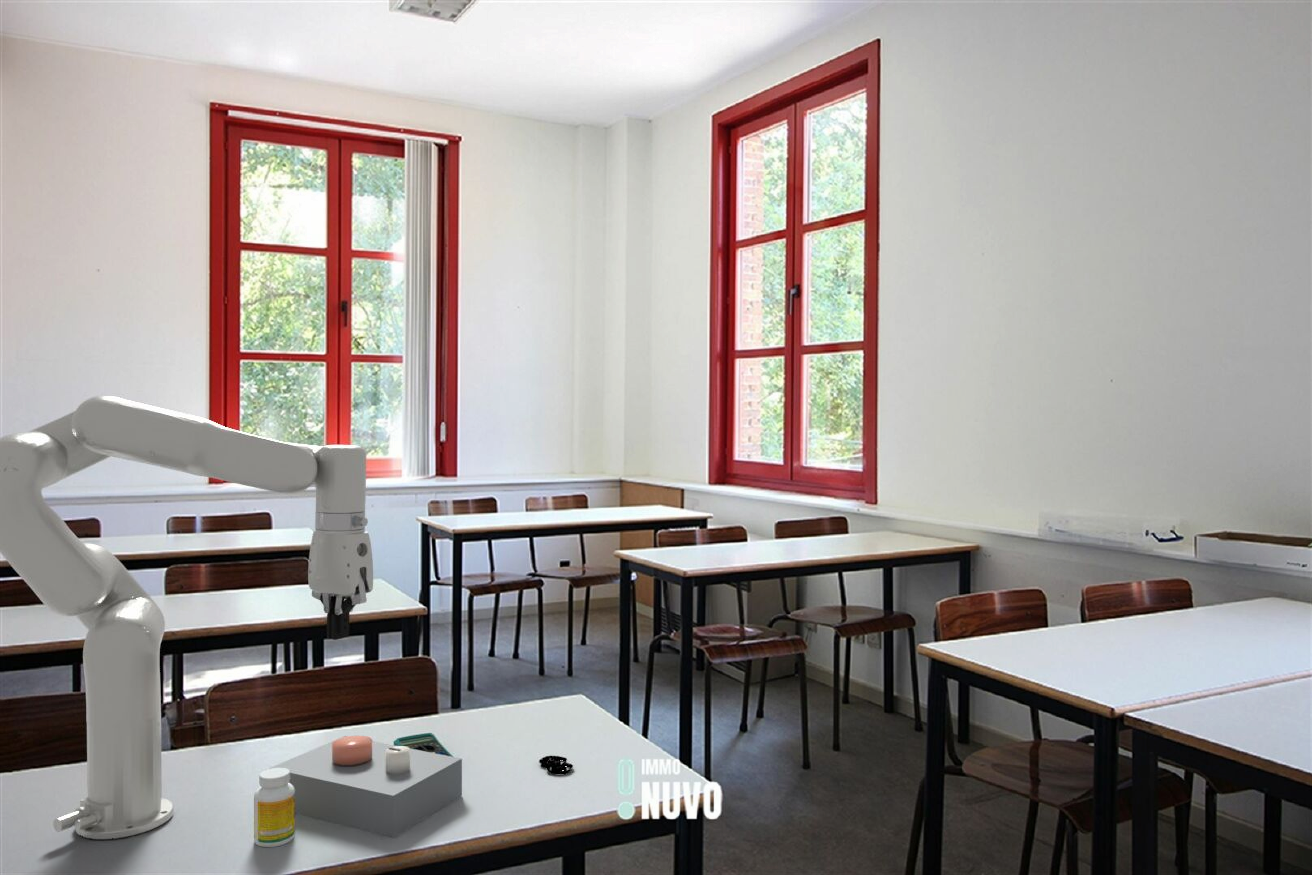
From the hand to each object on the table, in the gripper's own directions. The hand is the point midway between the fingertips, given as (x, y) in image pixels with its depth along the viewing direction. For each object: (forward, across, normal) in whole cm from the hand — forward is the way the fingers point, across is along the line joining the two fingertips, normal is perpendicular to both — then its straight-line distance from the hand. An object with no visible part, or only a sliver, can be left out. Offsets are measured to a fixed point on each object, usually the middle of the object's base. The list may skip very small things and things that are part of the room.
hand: (337, 637), depth 150 cm
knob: (+18, -13, 0) cm, 23 cm away
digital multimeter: (+25, -3, -17) cm, 31 cm away
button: (+21, -4, +1) cm, 21 cm away
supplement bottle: (+25, -5, +16) cm, 30 cm away
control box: (+25, -7, 0) cm, 26 cm away
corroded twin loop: (+24, -26, -25) cm, 43 cm away
